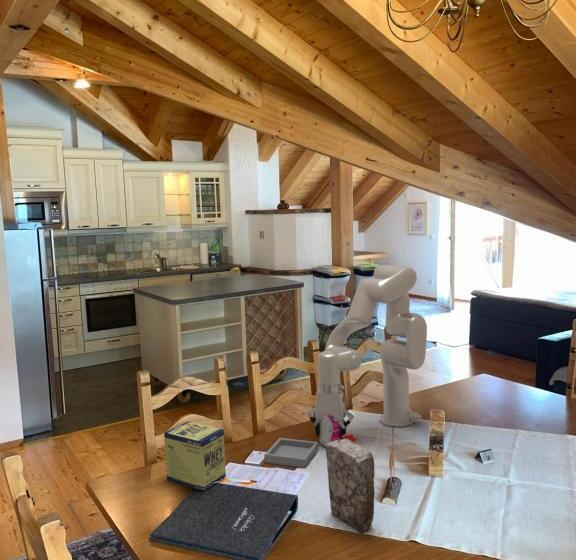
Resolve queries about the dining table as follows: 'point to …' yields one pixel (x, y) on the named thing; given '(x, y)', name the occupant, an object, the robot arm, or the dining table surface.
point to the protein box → (195, 454)
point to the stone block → (351, 483)
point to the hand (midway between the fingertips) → (330, 436)
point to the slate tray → (291, 452)
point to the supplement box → (329, 430)
